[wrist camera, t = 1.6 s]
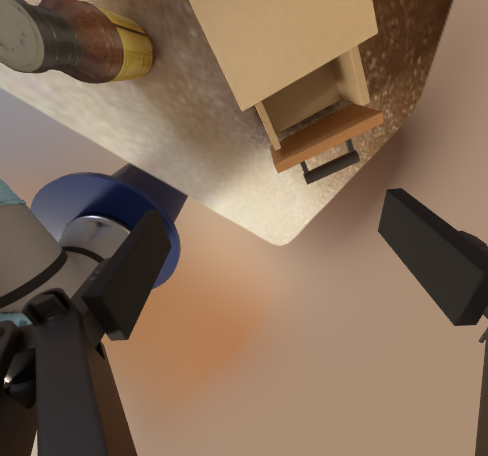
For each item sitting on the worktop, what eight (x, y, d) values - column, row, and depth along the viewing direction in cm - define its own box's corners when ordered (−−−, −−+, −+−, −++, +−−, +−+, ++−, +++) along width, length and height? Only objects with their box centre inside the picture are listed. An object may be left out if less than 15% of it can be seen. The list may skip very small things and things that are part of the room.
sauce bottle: (98, 36, 31) (-88, -11, 14) (137, 8, 29) (-19, -83, 12) (131, 89, 34) (12, 104, 17) (168, 67, 32) (77, 58, 15)
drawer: (362, 140, 36) (391, 157, 28) (283, 177, 39) (291, 201, 32) (322, -16, 27) (349, -51, 19) (224, 50, 30) (216, 41, 23)
